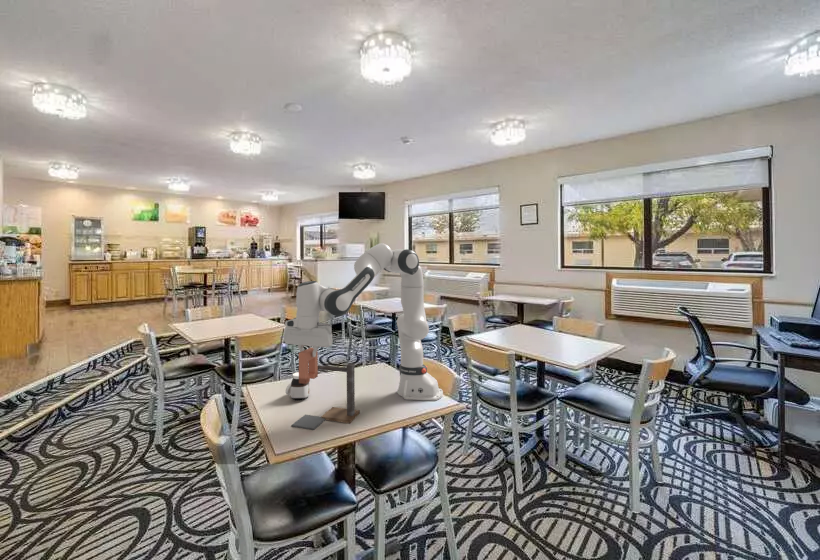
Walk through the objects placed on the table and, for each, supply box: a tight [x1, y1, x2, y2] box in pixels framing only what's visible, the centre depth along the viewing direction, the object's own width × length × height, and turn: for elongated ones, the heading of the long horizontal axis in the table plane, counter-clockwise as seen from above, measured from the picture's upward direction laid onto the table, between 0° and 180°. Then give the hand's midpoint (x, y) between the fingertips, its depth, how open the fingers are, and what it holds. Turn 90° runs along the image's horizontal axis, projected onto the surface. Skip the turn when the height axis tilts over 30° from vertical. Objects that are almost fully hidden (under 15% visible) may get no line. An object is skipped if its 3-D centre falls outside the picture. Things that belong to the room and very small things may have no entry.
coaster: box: [291, 414, 326, 431], centre depth 145 cm, size 10×10×1 cm
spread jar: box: [285, 371, 310, 402], centre depth 171 cm, size 12×11×12 cm
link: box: [298, 346, 319, 384], centre depth 144 cm, size 3×9×12 cm, turn 164°
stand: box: [318, 363, 361, 424], centre depth 151 cm, size 17×10×22 cm, turn 74°
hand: (308, 356), depth 144 cm, fingers closed on link, 3 cm apart
